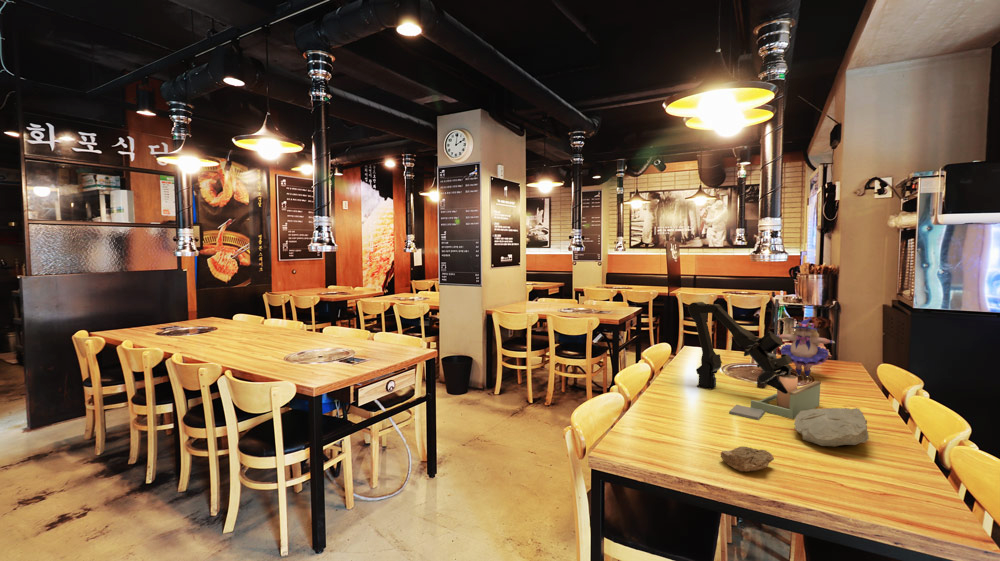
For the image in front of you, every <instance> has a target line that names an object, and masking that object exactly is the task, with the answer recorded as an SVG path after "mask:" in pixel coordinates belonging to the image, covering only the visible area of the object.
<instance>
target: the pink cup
mask: <svg viewBox="0 0 1000 561" xmlns="http://www.w3.org/2000/svg"><path fill="white" fill-rule="evenodd" d="M798 377H799V376H797V375H796V376H795V375H792V374H790V375H787V374H779V378H780V381H781V383H782V384H783V385H784V387H785V388H786V390H787V391H788V393H787V394H785V393H783V392H781V391H779V390H777V389H776V394H777V399H776V406H778V407H782V408H786V409H790V392H791V391H794V390H796V389H798V381H799V380H798V379H799V378H798Z"/></svg>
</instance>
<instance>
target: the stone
mask: <svg viewBox="0 0 1000 561" xmlns="http://www.w3.org/2000/svg"><path fill="white" fill-rule="evenodd" d="M793 424H794V429H795V431H797V432H798V433H799V434H801V435H802V440H803V441H807V442H809V443H812V444H815V445H818V446H821V447H839V446H845V445H848V446H856V445H858V444H860V443H861V444H862V443H863V444H864V443H866V442H868V441H869V431H868V420H867V419H866V418H865V416H864V412H862V411H861V410H860V408H858V407H855V408H847V407H843V408H842V407H840V408H839V407H838V408H837V407H835V408H834V407H831V408H829V407H828V408H826V407H825V408H814V409H809V410H804V411H800V412H799V413H798V414H797V415H796V417H795V418H794V423H793Z"/></svg>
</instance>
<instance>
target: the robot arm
mask: <svg viewBox="0 0 1000 561" xmlns="http://www.w3.org/2000/svg"><path fill="white" fill-rule="evenodd" d="M687 310H688V313H689V314H690V317H691V319H692V320H693V321H694V322H695V327H696V331H697V335H698V340H699V343H700V347H701V352H702V354H701V358H700V360H701V361H700V364H701V365H700V366H699V367H697V368H696V373H697V375H698V384H697V388H702V389H706V390H713V389H716V387H717V377H716V374H717V373H718V371H719V370H721V368H722V364H723V361H722V360H721V354H717V353H716V352H715V350H714V345H713V342H712V338H711V334H710V333H711V332H710V330H709V326H708V322H707V320H708V319H707V318H708V314H712V315H713V316H714V317H715V318H716V319H717V320H718V321H719V322H720V323H721V324H722V325H723V326H724V327H725V328H726V329H727V330H728V331H729V332H730V334H731V335H732V338H733V340H734V341H735V343H736V344H737V345H738V346H739V348H744V350H743V352H744V353H743V357H748V356H750V357H751V358H752V359H753V361H754V362H755V363H756V364H757V365H756V367H757V368H758V369H759V368H760V369H761V371H762V370H763V371H764V373H762V374H761V375H760V376H759V375H758V376H757V378H758V380H759V382H760V383H761V384H762V383H764V382H765V381H766V380H767V382H766V383H765V384H767V385H766V386H770V387H772V388H773V389H776V391H777V390H779V391H781V392H783V393H785V394H787V393H788V391H787V390H786V388H785V387H784V385H783V384H782V383H781V381H780V378H779V374H787V375H791V372H792V370H793V367H792V366H791V364H792V362H791V359H792V358H791V357H790V356H788V355H787V354H783V355H782V354H781V355H780V357H778V358H777V359H775V358H774V357H773V356H772V357H770V356H769V355H768V353H773V352H774V351H775V350H777V349H778V348H780V347H781V346H783V344H784V343H783V339H781V338H779V337H777V336H776V335H777V334H775V333H773V332H772V331H767V332H766V333H765V334H764V335H763V336H762V337H759V336H756V335H755V334H754V333H753V332H751V331H749V330H748V329H747V328H744V327H743V326H741V325H740V324H739V323H738V322H737V321H736V320H735V319H734V318H733V317H732V316H731V315H730V314H729V313H728V312H727V311H726V310H725V309H724V308H723V307H722V306H721V304H719V303H717V304H716V303H714V304H713V303H705V302H703V301H695V302H691V303H690V304H689V305H688V307H687ZM755 345H756V346H755ZM746 348H747V349H746Z"/></svg>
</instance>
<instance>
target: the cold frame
mask: <svg viewBox="0 0 1000 561" xmlns="http://www.w3.org/2000/svg"><path fill="white" fill-rule="evenodd" d="M821 385H822V382H821V381H818V380H815V381H812V382H810V383H808V384H806V385H803V386H801V387H799V388H798V387H797V389H796V390H794V391H791V392H790V409H786V408H782V407H778V406H777V405H773V404H770V403H769V402H772V401H774V400H777V393H774V394H771V395H769V396H768V397H767V396H766V397H764V398H762V399H760V400H755V399H750V408H755V409H760V410H765V413H770V414H773V415H776V416H780V417H785V418H788V419H790V420H791V419H792V420H795V417H796V415H797V414H798V413H799V412H800V411H804V410H809V409H817V407H819V406H820V401H821V399H820V397H821V395H820V394H821Z"/></svg>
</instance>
